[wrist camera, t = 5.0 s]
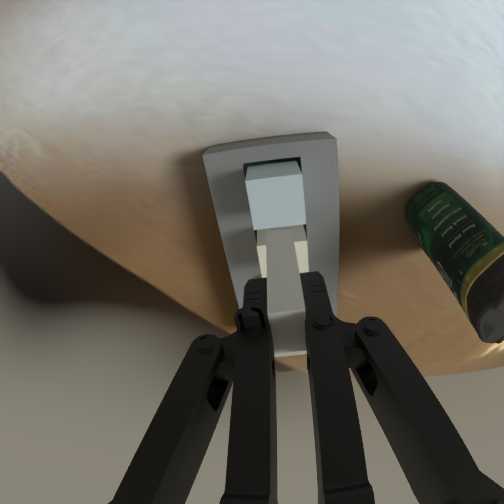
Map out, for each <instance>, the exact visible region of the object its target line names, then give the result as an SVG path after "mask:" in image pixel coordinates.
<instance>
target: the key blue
mask: <svg viewBox="0 0 504 504" xmlns="http://www.w3.org/2000/svg"><path fill="white" fill-rule="evenodd" d="M245 183H246V188H247V194H248V200H249V205H250V211H251V217H252V223H253V228H254V230H260V229H268V228H277V227H286V226H295V225H304V224H306V215H305V202H304V189H303V178H302V173H301V170H300V168H299V166H298V164H297V161H289V162H280V163H272V164H264V165H256V166H249V167H247V173H246V179H245Z"/></svg>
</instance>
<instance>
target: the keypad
mask: <svg viewBox="0 0 504 504" xmlns="http://www.w3.org/2000/svg"><path fill="white" fill-rule="evenodd" d="M202 156H203V161H204V165H205V170H206V174H207V178H208V183H209V187H210V192H211V196H212V200H213V205H214V209H215V213H216V217H217V222H218V226H219V230H220V234H221V238H222V242H223V246H224V250H225V255H226V259H227V263H228V267H229V271H230V275H231V278H232V282H233V286H234V290H235V294H236V298H237V302H238V306H239V309H241V308H242V307H243V297H244V286H245V284H246V283H247V281H248V280H249V279H256V278H262V275H261V269H260V263H259V257H258V252H257V230H254V228H253V223H252V217H251V211H250V205H249V200H248V194H247V188H246V183H245V179H246V173H247V167H249V166H256V165H264V164H272V163H280V162H289V161H297V164H298V166H299V168H300V170H301V173H302V178H303V189H304V202H305V215H306V224H304V225H303V226H304V230H305V234H306V238H307V246H308V266H309V272H313V271H318V272H319V273H320V274H321V275H322V276H323V277H324V281H325V285H326V288H327V292H328V296H329V299H330V303H331V307H332V311H333V314H334V315H335V316H336V311H337V296H338V275H339V235H340V214H339V174H338V154H337V139H336V138H335V137H333V136H332V135H331V134H329V133H328V132H314V133H302V134H291V135H282V136H273V137H265V138H257V139H250V140H243V141H237V142H231V143H225V144H219V145H213V146H210V147H209V148H208V149H207V150H206V151H205V153H204V154H203V155H202Z"/></svg>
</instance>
